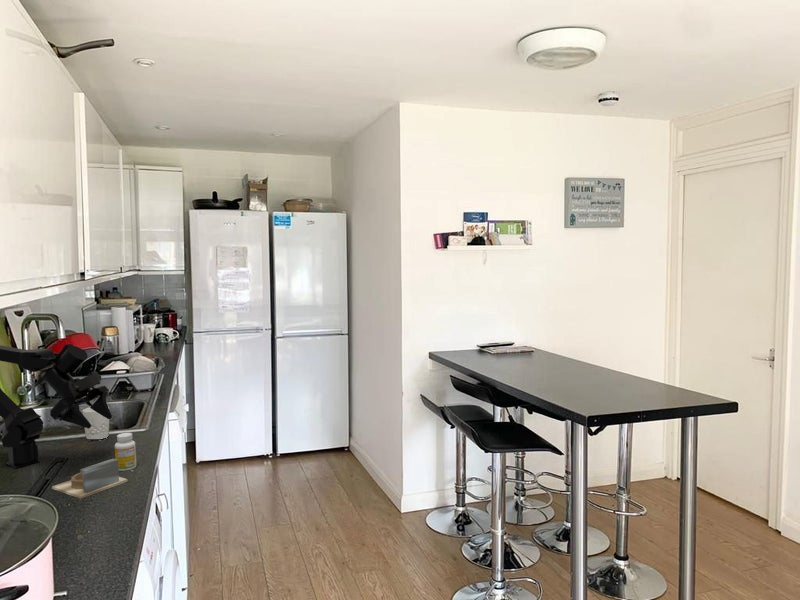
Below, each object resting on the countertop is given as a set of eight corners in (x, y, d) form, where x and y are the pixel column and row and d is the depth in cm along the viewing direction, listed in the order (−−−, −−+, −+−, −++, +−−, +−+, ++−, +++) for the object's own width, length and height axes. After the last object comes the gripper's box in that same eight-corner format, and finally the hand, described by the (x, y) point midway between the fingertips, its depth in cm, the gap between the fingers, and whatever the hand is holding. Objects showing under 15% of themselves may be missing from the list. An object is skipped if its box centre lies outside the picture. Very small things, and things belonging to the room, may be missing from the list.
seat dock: (51, 488, 156) (50, 464, 155) (99, 472, 167) (97, 450, 166) (80, 498, 149) (78, 473, 149) (127, 481, 160) (126, 458, 160)
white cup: (116, 435, 201) (114, 406, 200) (97, 442, 194) (95, 412, 193) (97, 433, 204) (96, 405, 203) (78, 440, 196) (76, 410, 195)
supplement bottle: (120, 465, 173) (118, 432, 172) (139, 464, 173) (137, 431, 173) (112, 471, 168) (111, 438, 167) (132, 470, 168) (130, 437, 167)
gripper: (57, 371, 161) (96, 412, 160) (101, 358, 179) (137, 395, 178) (32, 399, 163) (72, 440, 162) (79, 384, 181) (114, 420, 180)
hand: (100, 422), depth 170 cm, fingers open, 9 cm apart
